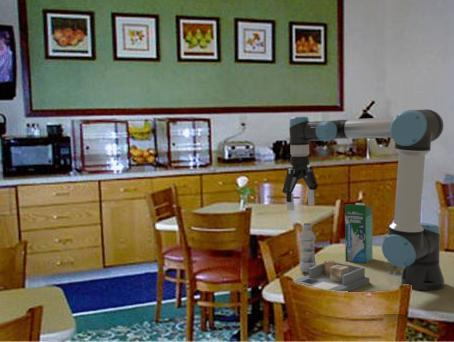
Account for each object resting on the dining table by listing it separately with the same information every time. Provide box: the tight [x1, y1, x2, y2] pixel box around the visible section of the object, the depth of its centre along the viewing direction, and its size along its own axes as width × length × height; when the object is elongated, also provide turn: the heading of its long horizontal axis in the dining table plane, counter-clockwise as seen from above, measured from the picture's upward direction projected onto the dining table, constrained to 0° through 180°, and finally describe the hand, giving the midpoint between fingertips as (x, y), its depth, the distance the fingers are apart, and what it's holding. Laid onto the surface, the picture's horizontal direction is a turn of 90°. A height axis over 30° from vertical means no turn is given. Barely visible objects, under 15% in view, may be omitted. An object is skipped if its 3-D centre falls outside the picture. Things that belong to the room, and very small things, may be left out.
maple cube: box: [330, 265, 349, 283], centre depth 217 cm, size 5×5×5 cm
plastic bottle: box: [298, 222, 317, 274], centre depth 234 cm, size 6×7×20 cm
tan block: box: [324, 260, 336, 276], centre depth 225 cm, size 4×4×5 cm
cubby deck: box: [293, 261, 370, 292], centre depth 218 cm, size 20×22×6 cm
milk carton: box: [344, 202, 373, 264], centre depth 252 cm, size 9×9×25 cm
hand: (301, 207), depth 235 cm, fingers open, 13 cm apart
